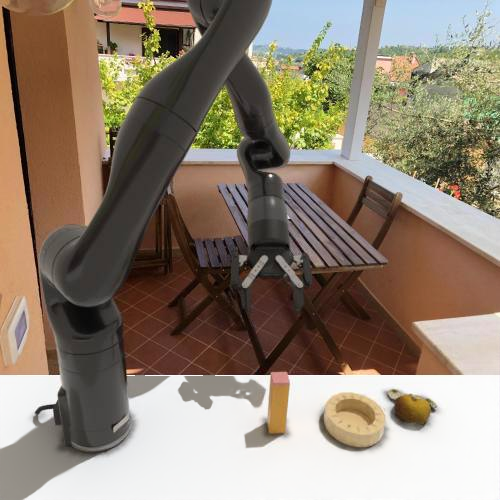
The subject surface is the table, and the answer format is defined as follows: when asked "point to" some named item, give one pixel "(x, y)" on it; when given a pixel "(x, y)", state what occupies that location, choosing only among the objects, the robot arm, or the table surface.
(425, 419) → the fruit
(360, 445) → the bowl
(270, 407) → the pencil
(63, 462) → the table surface
